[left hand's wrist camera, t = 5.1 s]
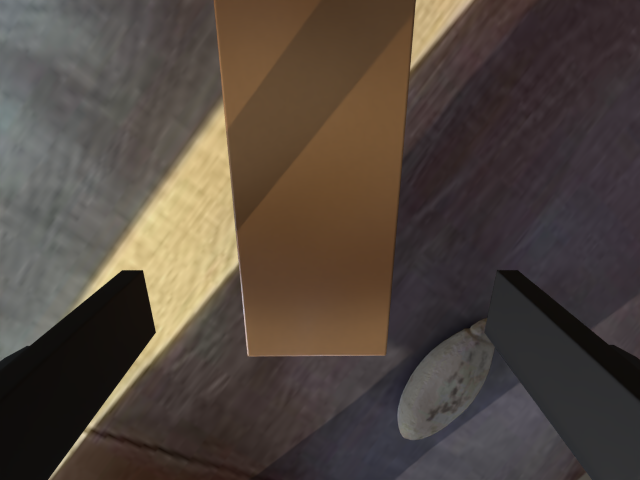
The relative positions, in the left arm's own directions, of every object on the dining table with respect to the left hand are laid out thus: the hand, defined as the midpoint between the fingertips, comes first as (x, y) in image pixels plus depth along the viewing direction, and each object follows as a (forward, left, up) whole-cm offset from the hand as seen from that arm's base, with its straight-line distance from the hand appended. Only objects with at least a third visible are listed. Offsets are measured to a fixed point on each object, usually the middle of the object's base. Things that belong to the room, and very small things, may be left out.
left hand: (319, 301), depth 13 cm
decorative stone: (-18, -12, -17) cm, 28 cm away
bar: (+11, 0, -10) cm, 15 cm away
